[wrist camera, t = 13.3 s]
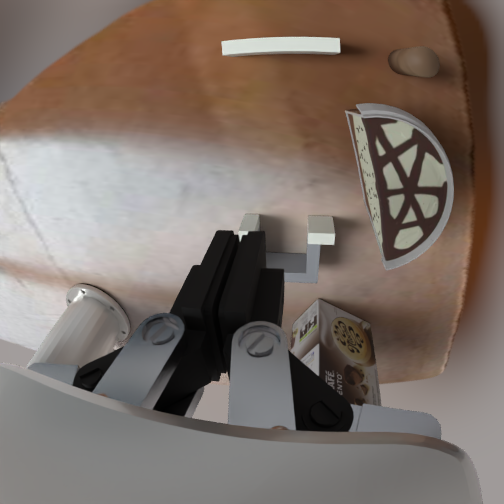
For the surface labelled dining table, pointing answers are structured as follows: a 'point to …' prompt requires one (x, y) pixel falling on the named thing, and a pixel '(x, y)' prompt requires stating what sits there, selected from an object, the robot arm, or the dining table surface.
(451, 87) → the dining table surface
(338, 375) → the coffee box
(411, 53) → the goal posts
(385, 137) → the food container
